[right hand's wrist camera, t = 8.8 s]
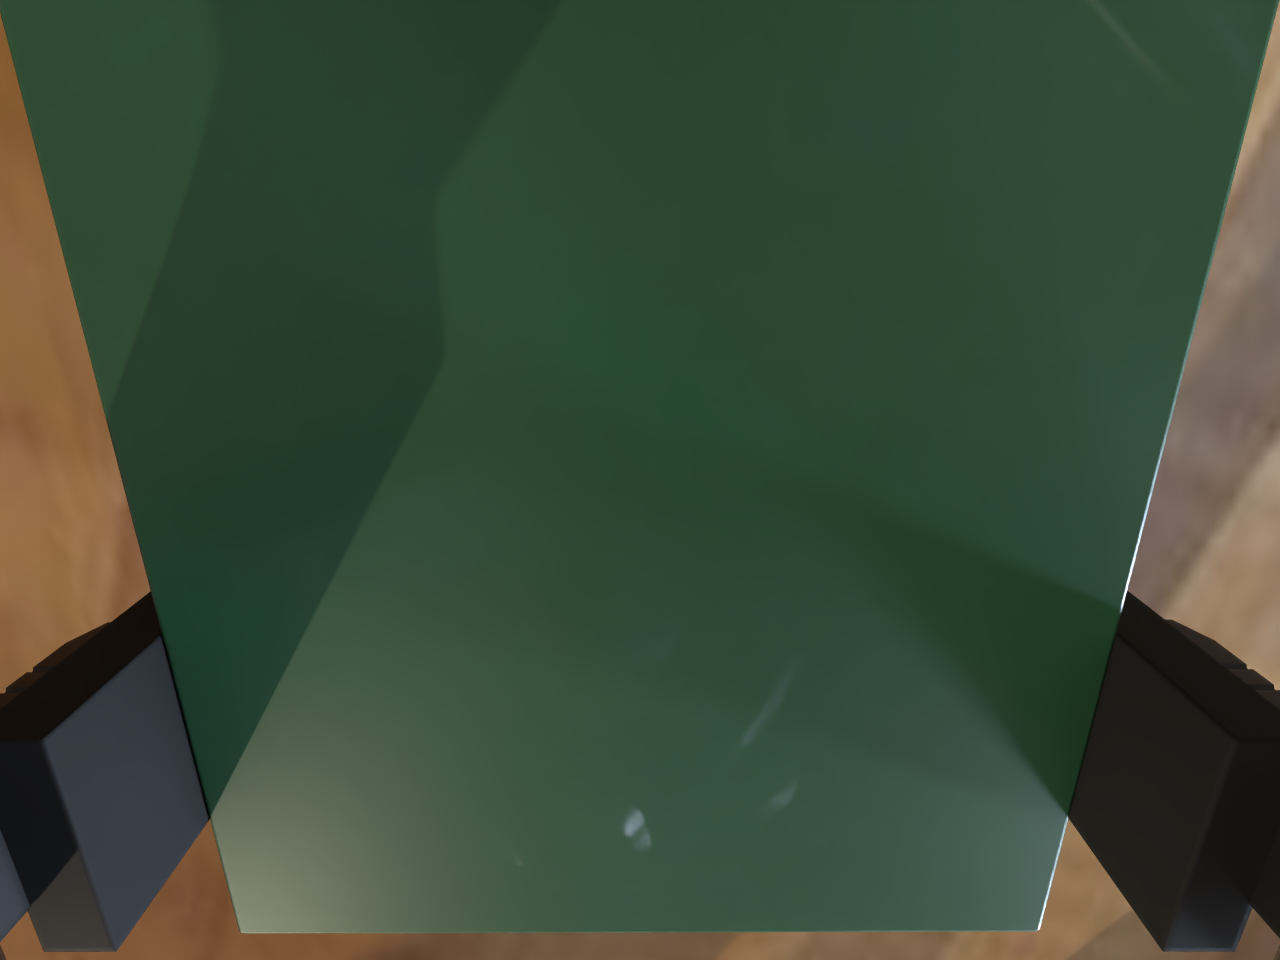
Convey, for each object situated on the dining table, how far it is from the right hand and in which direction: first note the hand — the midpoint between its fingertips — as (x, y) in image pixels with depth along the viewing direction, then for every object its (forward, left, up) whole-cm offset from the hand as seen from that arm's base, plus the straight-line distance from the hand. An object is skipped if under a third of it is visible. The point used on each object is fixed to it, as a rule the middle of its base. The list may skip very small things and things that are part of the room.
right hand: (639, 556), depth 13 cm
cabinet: (+3, -4, -7) cm, 9 cm away
